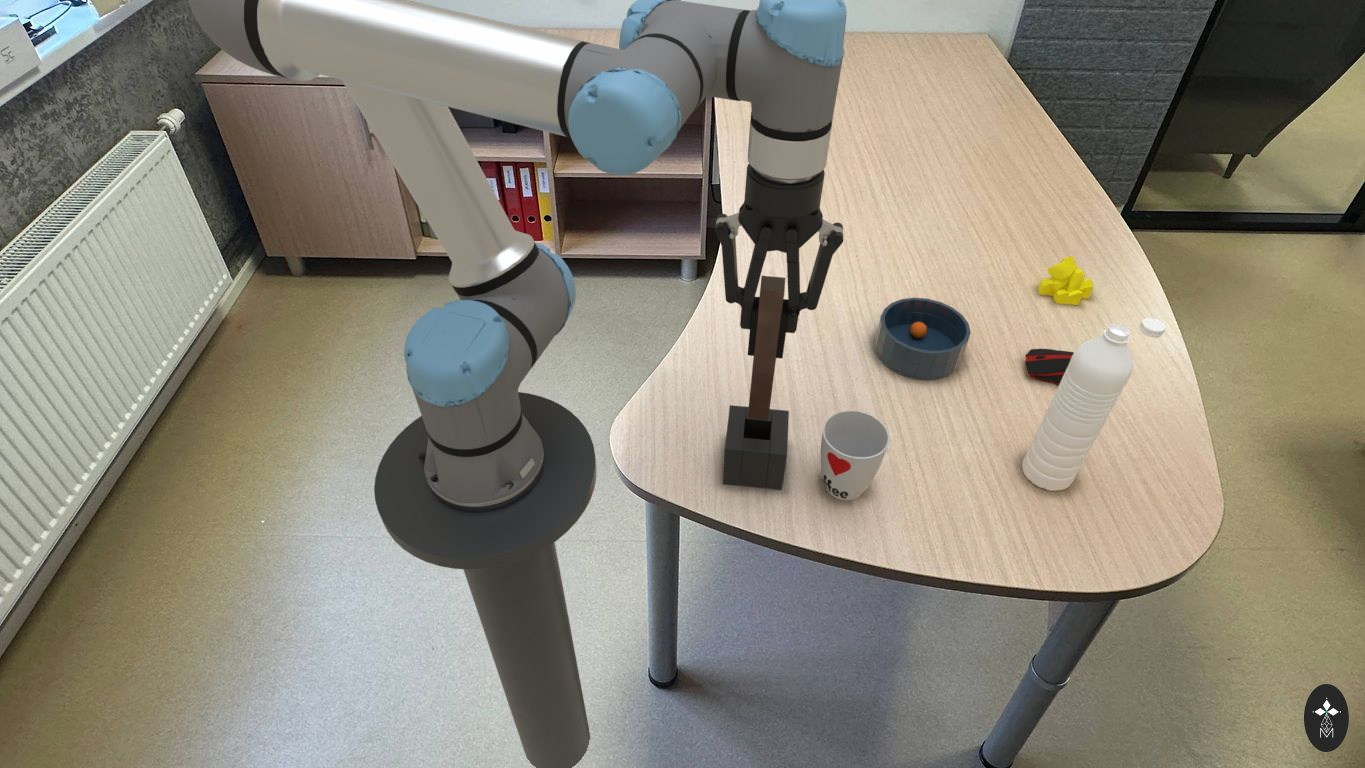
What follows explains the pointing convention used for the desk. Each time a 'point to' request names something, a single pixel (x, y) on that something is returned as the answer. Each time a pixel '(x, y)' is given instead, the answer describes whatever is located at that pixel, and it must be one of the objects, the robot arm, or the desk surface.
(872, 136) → the desk surface
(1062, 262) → the crumpled paper
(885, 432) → the cup
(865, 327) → the desk surface
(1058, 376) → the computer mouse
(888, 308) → the bowl
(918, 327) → the bead
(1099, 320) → the desk surface
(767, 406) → the stick
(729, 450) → the holder
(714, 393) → the desk surface
